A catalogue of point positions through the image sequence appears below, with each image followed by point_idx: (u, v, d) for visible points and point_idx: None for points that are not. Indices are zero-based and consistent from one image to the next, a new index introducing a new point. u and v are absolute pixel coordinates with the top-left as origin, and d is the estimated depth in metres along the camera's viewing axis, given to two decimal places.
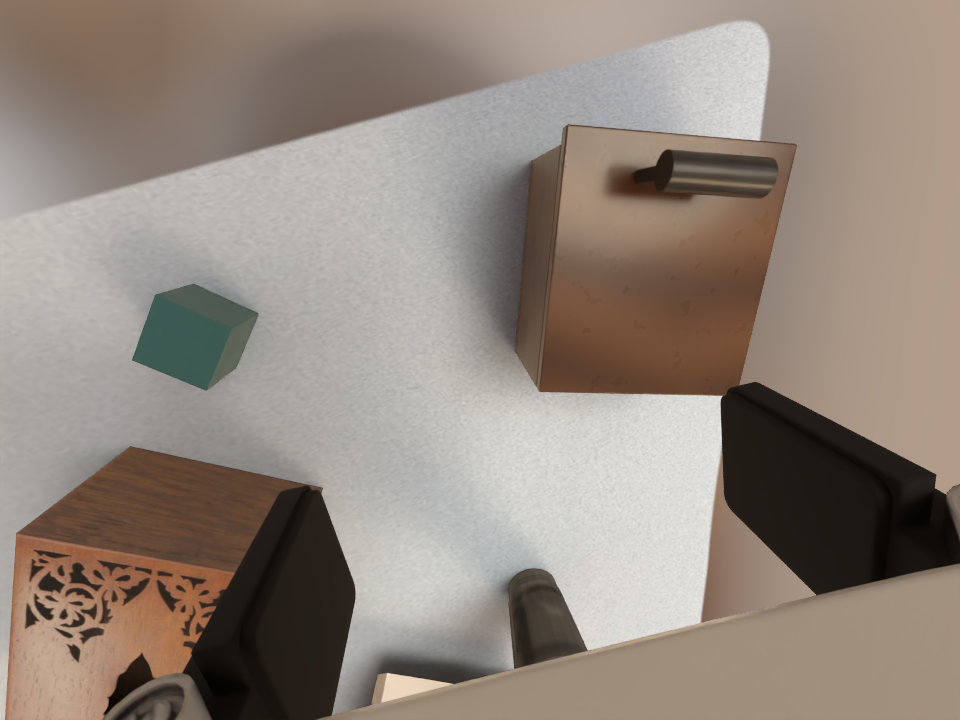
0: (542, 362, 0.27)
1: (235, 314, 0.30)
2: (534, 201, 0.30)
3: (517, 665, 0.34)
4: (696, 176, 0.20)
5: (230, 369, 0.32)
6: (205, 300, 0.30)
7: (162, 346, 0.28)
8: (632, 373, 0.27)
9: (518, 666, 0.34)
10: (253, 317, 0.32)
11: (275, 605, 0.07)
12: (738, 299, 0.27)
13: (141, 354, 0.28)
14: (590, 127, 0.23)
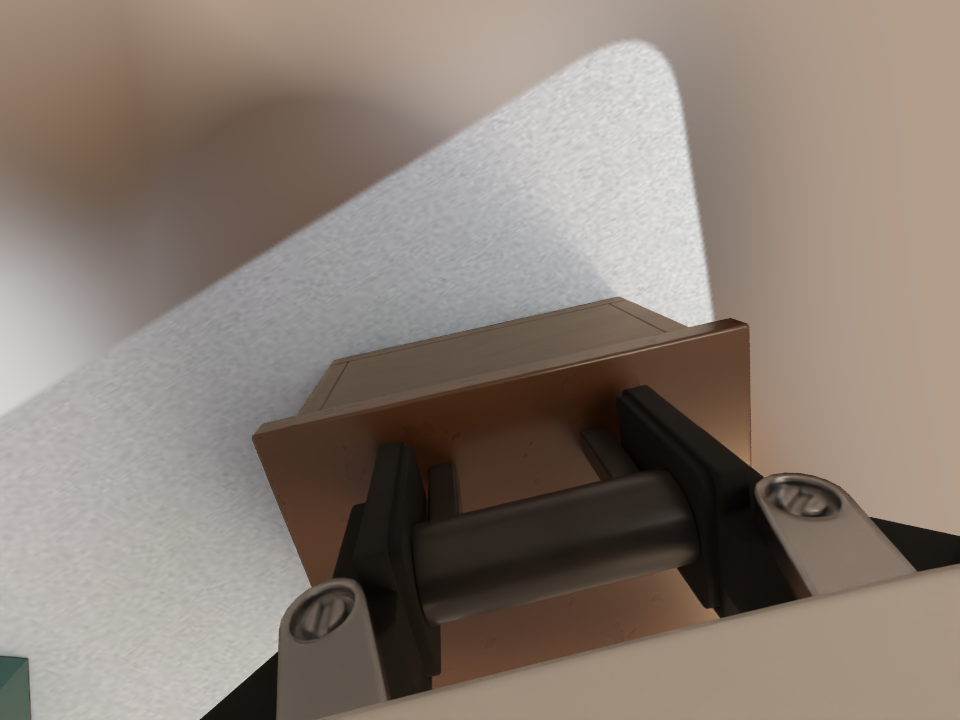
0: None
1: None
2: None
3: None
4: (491, 603, 0.08)
5: None
6: None
7: None
8: None
9: None
10: (11, 677, 0.22)
11: (405, 529, 0.08)
12: None
13: None
14: (300, 427, 0.11)
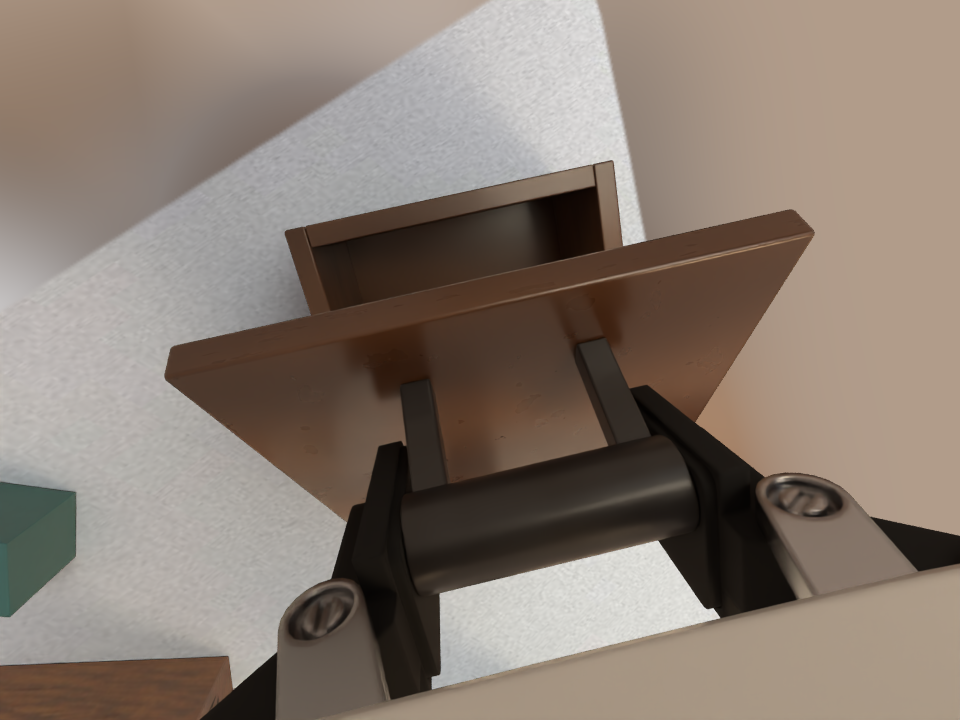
0: None
1: (30, 511, 0.25)
2: None
3: None
4: None
5: (59, 566, 0.27)
6: None
7: None
8: None
9: None
10: (63, 502, 0.26)
11: None
12: None
13: None
14: (229, 365, 0.08)
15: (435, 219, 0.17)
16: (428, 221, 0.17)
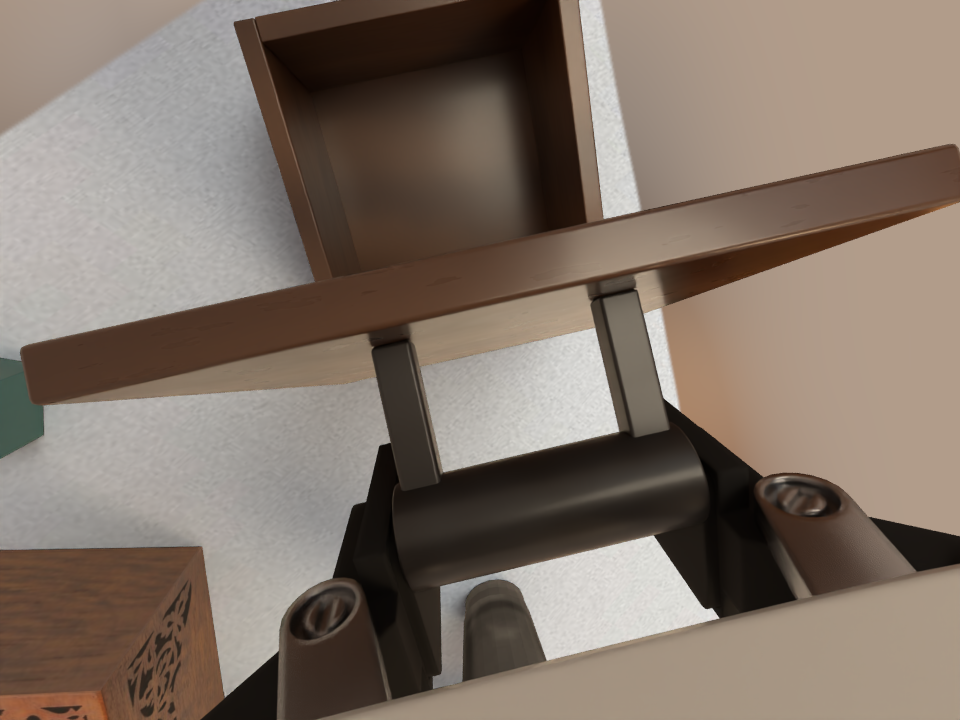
0: (331, 383, 0.18)
1: None
2: None
3: None
4: None
5: (25, 439, 0.27)
6: None
7: None
8: (467, 355, 0.19)
9: None
10: None
11: None
12: None
13: None
14: (127, 385, 0.06)
15: (389, 14, 0.17)
16: (382, 16, 0.17)
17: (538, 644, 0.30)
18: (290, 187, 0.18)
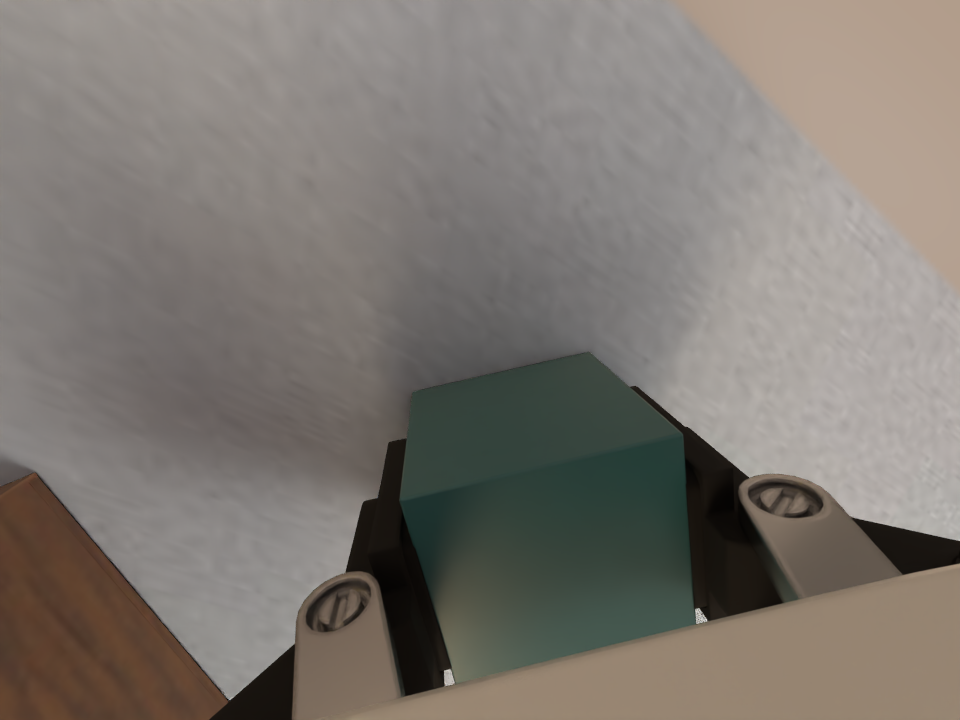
0: None
1: None
2: None
3: None
4: None
5: None
6: None
7: (520, 544, 0.08)
8: None
9: None
10: None
11: None
12: None
13: (444, 512, 0.07)
14: None
15: None
16: None
17: None
18: None
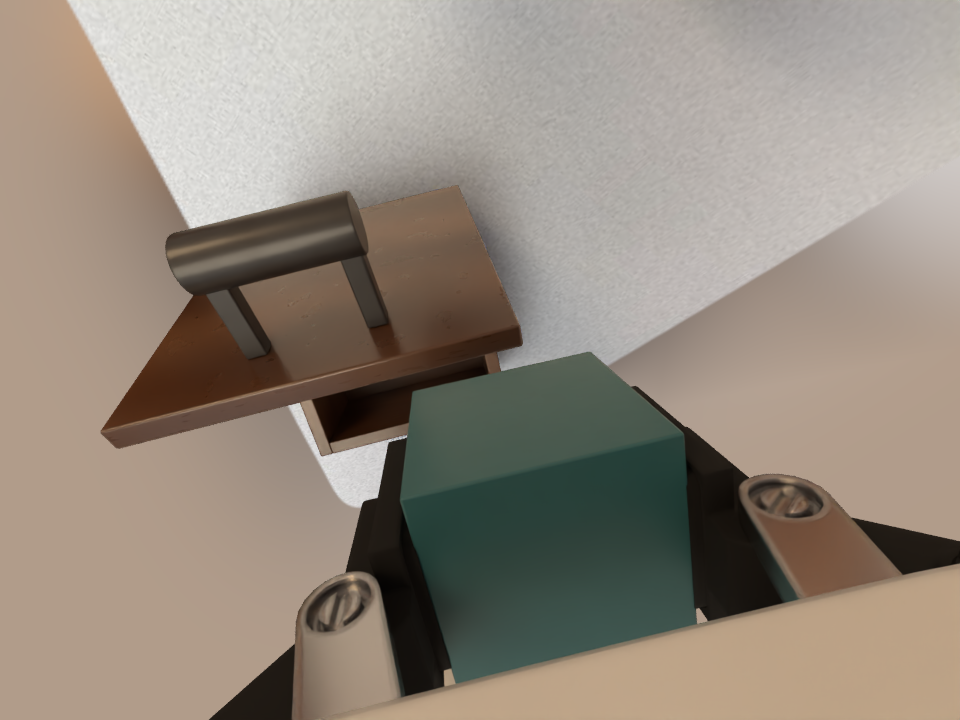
0: (462, 196, 0.23)
1: None
2: None
3: None
4: (306, 201, 0.13)
5: None
6: None
7: (521, 544, 0.08)
8: None
9: None
10: None
11: None
12: None
13: (444, 512, 0.07)
14: (480, 334, 0.13)
15: None
16: None
17: None
18: None
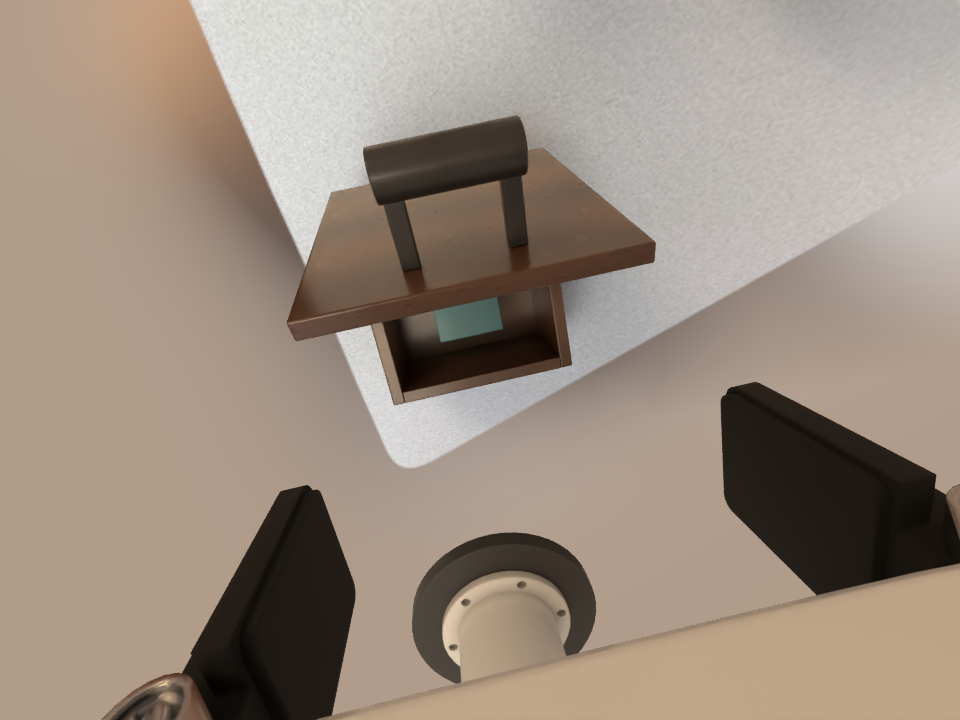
0: (551, 156, 0.25)
1: None
2: None
3: None
4: None
5: None
6: None
7: None
8: None
9: None
10: None
11: (275, 605, 0.07)
12: (346, 224, 0.22)
13: None
14: (621, 249, 0.15)
15: (492, 373, 0.31)
16: (496, 371, 0.31)
17: None
18: (557, 285, 0.30)
